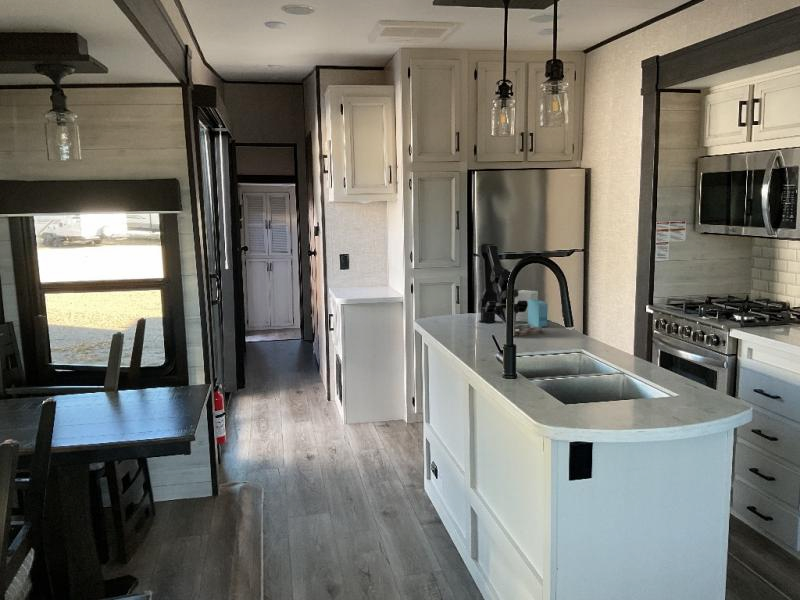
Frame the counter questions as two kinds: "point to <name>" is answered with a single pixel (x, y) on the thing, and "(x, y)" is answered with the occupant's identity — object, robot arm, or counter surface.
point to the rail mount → (527, 329)
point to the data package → (537, 313)
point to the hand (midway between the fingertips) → (510, 321)
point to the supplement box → (527, 296)
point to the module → (505, 325)
